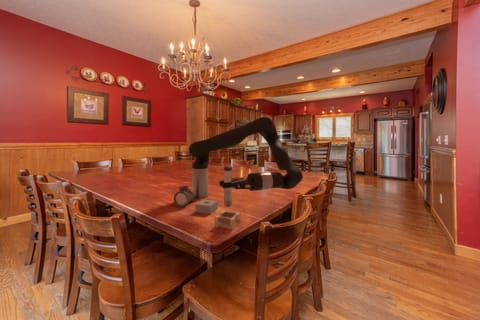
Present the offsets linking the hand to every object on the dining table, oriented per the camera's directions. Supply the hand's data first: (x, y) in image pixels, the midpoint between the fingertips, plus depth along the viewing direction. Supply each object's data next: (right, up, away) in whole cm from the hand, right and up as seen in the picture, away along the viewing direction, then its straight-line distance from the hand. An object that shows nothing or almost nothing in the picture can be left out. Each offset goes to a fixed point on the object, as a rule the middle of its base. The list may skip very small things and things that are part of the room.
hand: (221, 184), depth 85 cm
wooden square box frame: (+3, -17, +3) cm, 17 cm away
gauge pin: (+3, -9, +2) cm, 9 cm away
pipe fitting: (-22, -14, +30) cm, 40 cm away
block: (-9, -15, +19) cm, 26 cm away
